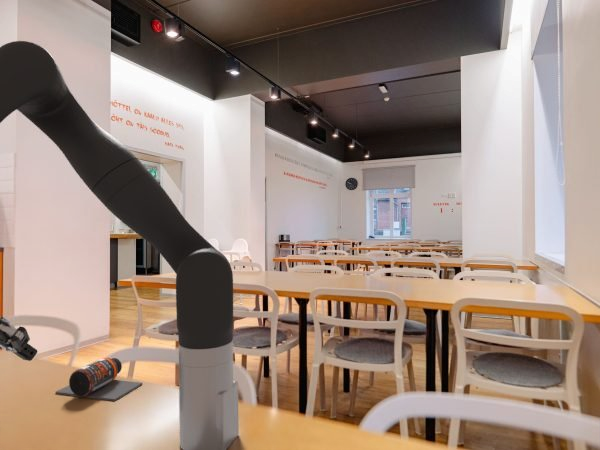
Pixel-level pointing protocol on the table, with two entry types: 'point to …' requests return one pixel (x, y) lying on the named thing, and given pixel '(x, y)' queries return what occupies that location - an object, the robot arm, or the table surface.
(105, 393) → the rubber mat
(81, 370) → the supplement bottle
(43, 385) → the table surface
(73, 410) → the table surface
